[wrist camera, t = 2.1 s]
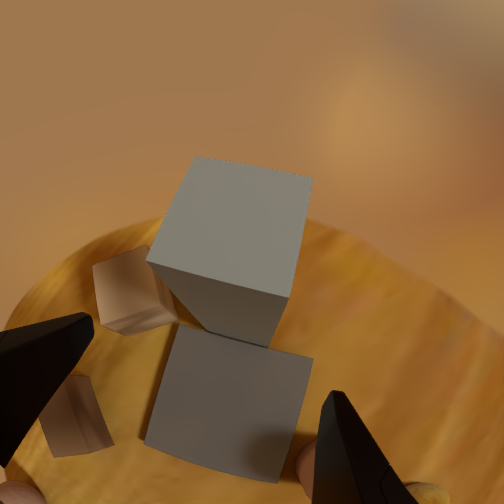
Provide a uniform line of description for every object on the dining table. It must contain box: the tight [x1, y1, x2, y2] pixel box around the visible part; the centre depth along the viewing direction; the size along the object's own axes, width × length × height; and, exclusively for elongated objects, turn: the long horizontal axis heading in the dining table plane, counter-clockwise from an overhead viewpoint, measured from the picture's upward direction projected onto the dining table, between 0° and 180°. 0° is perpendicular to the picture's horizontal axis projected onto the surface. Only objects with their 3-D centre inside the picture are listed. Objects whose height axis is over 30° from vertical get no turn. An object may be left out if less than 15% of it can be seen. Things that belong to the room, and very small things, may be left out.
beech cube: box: [92, 245, 179, 336], centre depth 19 cm, size 4×4×4 cm
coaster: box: [144, 324, 313, 484], centre depth 17 cm, size 10×10×1 cm
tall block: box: [145, 157, 313, 348], centre depth 15 cm, size 4×4×13 cm
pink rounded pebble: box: [295, 439, 317, 500], centre depth 14 cm, size 4×4×4 cm
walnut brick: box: [38, 375, 114, 458], centre depth 15 cm, size 6×4×4 cm, turn 25°
